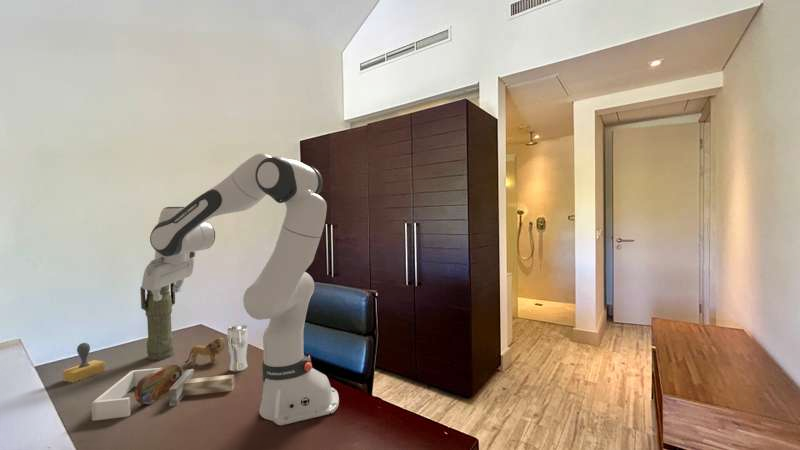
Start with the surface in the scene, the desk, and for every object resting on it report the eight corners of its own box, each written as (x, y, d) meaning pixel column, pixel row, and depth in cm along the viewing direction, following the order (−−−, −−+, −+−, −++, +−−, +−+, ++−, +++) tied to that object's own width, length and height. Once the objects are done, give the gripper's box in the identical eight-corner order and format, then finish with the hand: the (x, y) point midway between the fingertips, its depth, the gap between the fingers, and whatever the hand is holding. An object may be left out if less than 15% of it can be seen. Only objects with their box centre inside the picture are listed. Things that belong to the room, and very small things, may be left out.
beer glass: (244, 362, 136) (243, 323, 135) (252, 367, 131) (250, 327, 130) (225, 368, 131) (224, 328, 130) (232, 374, 126) (230, 332, 125)
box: (162, 382, 121) (161, 367, 121) (128, 416, 100) (128, 399, 100) (132, 385, 119) (131, 370, 119) (92, 420, 98) (91, 403, 98)
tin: (142, 410, 104) (140, 381, 103) (133, 409, 104) (131, 380, 104) (183, 385, 118) (182, 360, 118) (175, 384, 119) (174, 359, 119)
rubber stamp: (73, 383, 121) (71, 348, 121) (62, 381, 123) (61, 347, 123) (105, 371, 131) (104, 339, 130) (95, 369, 133) (94, 337, 132)
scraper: (238, 378, 122) (238, 364, 122) (227, 399, 109) (226, 383, 109) (187, 384, 119) (187, 369, 119) (169, 406, 105) (168, 389, 105)
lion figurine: (227, 357, 141) (227, 335, 141) (224, 363, 136) (223, 339, 135) (186, 361, 137) (185, 339, 137) (181, 367, 132) (180, 343, 132)
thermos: (138, 360, 140) (134, 271, 139) (168, 349, 151) (165, 267, 150) (152, 363, 136) (148, 273, 135) (182, 352, 147) (178, 268, 146)
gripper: (159, 263, 105) (154, 307, 107) (198, 251, 126) (194, 288, 127) (137, 259, 105) (133, 304, 107) (181, 248, 126) (177, 286, 127)
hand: (167, 295), depth 117 cm, fingers open, 8 cm apart
